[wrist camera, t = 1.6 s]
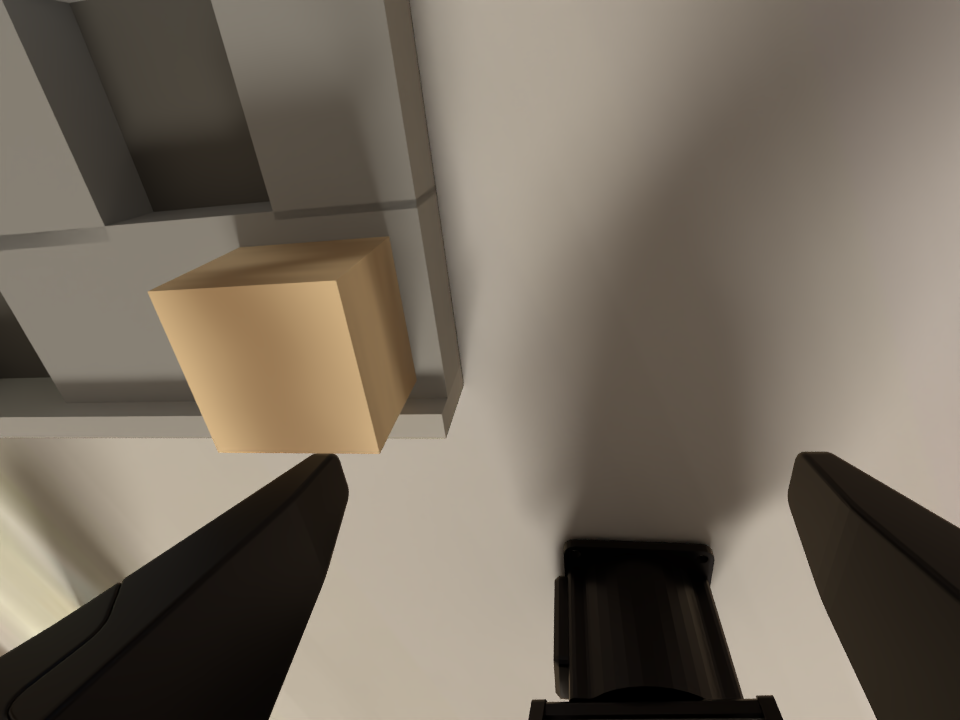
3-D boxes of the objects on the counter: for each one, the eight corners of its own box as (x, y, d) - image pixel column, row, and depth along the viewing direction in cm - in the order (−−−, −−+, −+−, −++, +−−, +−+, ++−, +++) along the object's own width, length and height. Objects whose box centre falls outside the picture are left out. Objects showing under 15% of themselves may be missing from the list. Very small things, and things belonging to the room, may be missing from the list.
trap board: (394, -104, 13) (322, -189, 9) (463, 385, 20) (439, 457, 16) (-261, 29, 17) (-503, 10, 13) (-16, 394, 24) (-128, 452, 20)
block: (389, 236, 15) (335, 280, 11) (416, 380, 17) (379, 453, 14) (239, 247, 16) (147, 291, 12) (285, 382, 18) (218, 452, 14)
